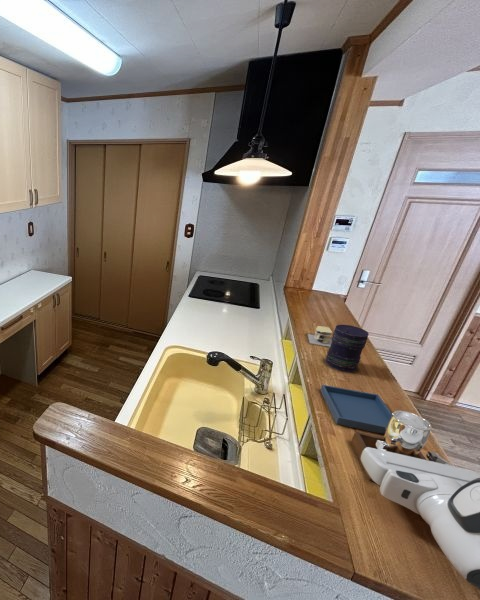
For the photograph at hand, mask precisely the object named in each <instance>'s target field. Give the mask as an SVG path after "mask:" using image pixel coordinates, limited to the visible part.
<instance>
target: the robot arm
mask: <svg viewBox="0 0 480 600" xmlns="http://www.w3.org/2000/svg"><path fill="white" fill-rule="evenodd" d="M376 447H377V448H378V449H375V448H370V447H366V448H365V449H364V450H363V452H362V454H361V462H362V464H363V466H364V468H365V469H366V471H367V473H368V474H369V476H370V477H371V478H372V480H373V481H372V482H374V483H375V484H377V485H378V486H380V487H379V492H380V493H379V494H381V496H382V497H384V498H385V499H387V500H389V501H392V502H394V503H396V504H398V505H400V506H402V507H405V508H406V509H408V510H410V511H412V512H414V513H415V514H417V515H419V516H420V517H421V518H422V519H423V521H425V523H426V524H427V525H429V527H430V531H431V535H432V537H433V538H434V540H435V542H436V544H437V545H438V547H439V548H440V550H441V551H442V553H443V554H444V556H445V558H446V559H447V561H448V562H449V563H450V564H451V565H452V567H453V568H454V569H455V570H456V572H457V573H458V574H459V575H460V576H461V577H462V578H463V579H464V580H465V581H467V582H468V583H469V584H470V585H472V586H474V587H476V588H478V589H480V473H479V472H477V471H475V470H473V469H467V468H464V467H459V466H455V465H454V464H453V463H451V462H449V461H448V460H447V459H445V458H443V457H441V455H439V453H438V452H436V451H430V450H428V451H427V453H426V454H425V458H426V460H424V459H419V458H415V457H410V456H406V455H401V454H397V453H392V452H388V451H387V448H388V445H387V444H386V442H384V441H380V440H377V442H376ZM361 462H360V463H361ZM362 464H361V465H362ZM363 466H362V467H363ZM364 468H363V469H364Z"/></svg>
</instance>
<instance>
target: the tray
mask: <svg viewBox="0 0 480 600" xmlns="http://www.w3.org/2000/svg"><path fill="white" fill-rule="evenodd" d="M320 393H321V395H322V397H323V399H324V401H325V404H326V406H327V407H328V410H329V412H330V414H331V416H332V417H333V420H334V422H335V424H336V425H339V426H343V427H349V428H353V429H359V430H363V431H366V432H367V431H368V432H371V433H377V434H381V435H384V431H385V428H386V425H387V423H388V421H389V419H390V417H391V416H392V414H393V412H391V410H390V409H389V408H388V406H387V404H386V403H385V402H384V401H383V399H382V398H381V396H380V395H379V394H376V393H371V392H366V391H359V390H354V389H349V388H342V387H337V386H333V385H332V386H331V385H328V384H327V385H326V384H321V387H320Z"/></svg>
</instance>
